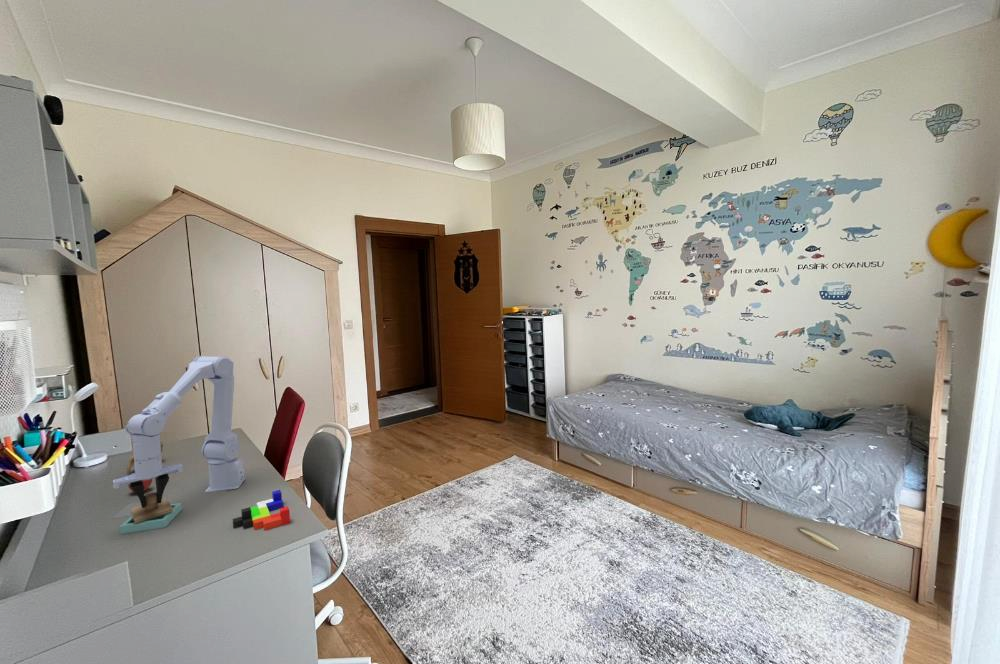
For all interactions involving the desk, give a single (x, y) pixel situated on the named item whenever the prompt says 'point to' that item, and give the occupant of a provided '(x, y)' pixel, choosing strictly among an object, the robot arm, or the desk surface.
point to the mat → (127, 510)
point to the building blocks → (264, 514)
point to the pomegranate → (145, 483)
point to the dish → (151, 521)
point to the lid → (151, 508)
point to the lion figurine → (133, 460)
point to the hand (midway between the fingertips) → (151, 504)
